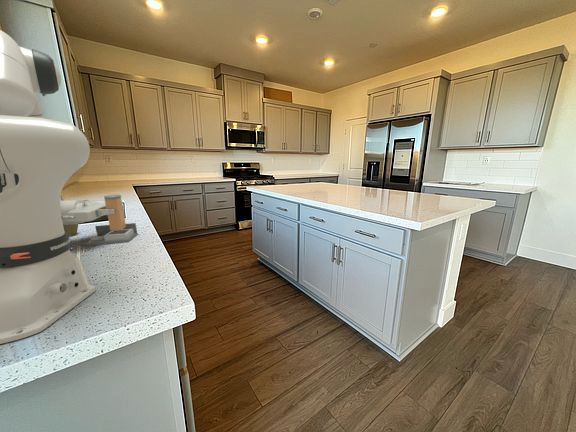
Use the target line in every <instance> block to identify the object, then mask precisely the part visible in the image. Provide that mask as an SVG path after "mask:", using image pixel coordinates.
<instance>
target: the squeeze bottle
mask: <svg viewBox="0 0 576 432" xmlns="http://www.w3.org/2000/svg"><path fill="white" fill-rule="evenodd" d="M61 200H62V201H65V200H64V198H63V196H62V195H61ZM63 227H64V231H65V232H66V233H67V234H68V237H72V236H74V235H77V234H78V228H79V224H67V225H64V224H63Z"/></svg>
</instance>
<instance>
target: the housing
mask: <svg viewBox="0 0 576 432" xmlns="http://www.w3.org/2000/svg"><path fill="white" fill-rule="evenodd" d="M94 227H95V231H96V236H92V237H90V240H89V241H87V242H85V245H84V246H86V247H89V246H100V245H102V244H103V245H110V244H111V245H112V244H113V243H114V244H123V242H125V243H130V242H131V241H132V240H133V239H135V238H136V236H137V235H138V230H137V224H136V222H131V223H126V227H125V228H124V229H121V230H110V226H109V224H103V225H95V226H94ZM129 241H130V242H129Z"/></svg>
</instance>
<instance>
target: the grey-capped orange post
mask: <svg viewBox="0 0 576 432" xmlns="http://www.w3.org/2000/svg"><path fill="white" fill-rule="evenodd" d="M103 198H104V201H105V205H106V209H115V210H116V213H114V214H108V215H107V219H108V225H109V226H110V230H121V229H124V228H125V227H126V224H127V223H126V218H125V213H124V207H123V201H122V195H121V194H108V195H103Z"/></svg>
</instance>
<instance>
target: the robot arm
mask: <svg viewBox="0 0 576 432" xmlns="http://www.w3.org/2000/svg"><path fill="white" fill-rule="evenodd" d="M61 82H62V76H61V72H60V70H59V68H58V66H57V64H56V63H55V62H54V59H53V58H51V56H50V55H48V54H46V53H44V52H43V51H39V50H36V49H33V48H32V49H29V48H26V47H23V46H20V45H18V43H17V41H15V40H14V39H13V37H11V36H10V35H9V34H8V33H6V32H4V31H3V30H1V29H0V345H1V344H6V343H9V342H14V341H18V340H23V339H24V338H27V337H30V336H34V335H36V334H39V333H41V332H42V331H44V330H46V329H47V328H49V327H50V326H51V325H53V324H54V323H55V322H56V321H57V320H59V319H60V318H61V317H63V316H64V315H65V314H67V313H68V312H70V311H71V310H73V308H75V307H76V306H77V305H79V304H80V303H81V302H83V301H84V300H85V299H88V297H89V296H91V295H92V294H93V293H95V292H96V287H95V286H94V285H93V284H89V282H88V278H87V276H86V272H85V270H84V267H83V265H82V262H81V259H80V258H79V257H77V256H75V255H74V253H73V252H72V251H71V250H70V249H71V246H72V245H71V239H70V236H68V234H67V233H66V232H65V231H64V227H63V224H64V225H67V224H78V225H81V224H84V223H86V222H87V223H88V222H92V221H95V220H96V219H99V218H101V217H103V216H108V214H114V213H116V210H115V209H106V205H105V200H104V201H103V200H98V201H97V200H96V201H94V200H92V201H91V200H90V199H82V200H81V199H80V200H79V199H73V200H71V199H70V200H69V199H68V200H64V201H62V200H61V196H62V191H63V189H64V186H65V184H66V183H67V181H68V180H69V178H70V177H71V176H72V175H73V174H74V173H76V172H77V171H78V170H80V169H81V168H82V167H83V166H85V165H86V164H87V162H88V160H89V158H90V155H91V154H90V153H91V151H90V150H91V149H90V148H91V147H90V144H89V143H90V142H89V141H88V139H87V136H85V134H84V133H83V131H81V130H80V129H79V128H78V127H77V126H75V125H74V124H72V123H69V122H64V121H61V120H60V121H59V120H54V119H52V118H51V119H50V118H45V117H44V114H43V110H42V106H41V103H40V100H39V97H38V95H37V93H39V94H41V95H42V97H45V96H47V95H51V94H55V93H56V92H59V89H60V86H61Z"/></svg>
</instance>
